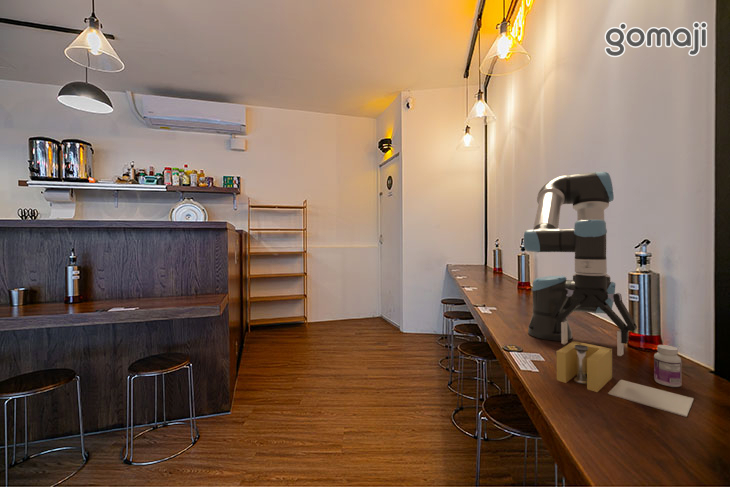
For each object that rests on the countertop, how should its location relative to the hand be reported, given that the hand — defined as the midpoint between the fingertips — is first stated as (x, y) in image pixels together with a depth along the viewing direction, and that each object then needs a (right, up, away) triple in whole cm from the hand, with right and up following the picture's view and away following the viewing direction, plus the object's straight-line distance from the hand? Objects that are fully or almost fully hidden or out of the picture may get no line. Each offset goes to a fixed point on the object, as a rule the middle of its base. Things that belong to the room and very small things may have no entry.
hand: (590, 348), depth 93 cm
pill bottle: (+16, -7, -7) cm, 19 cm away
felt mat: (+5, -7, -14) cm, 16 cm away
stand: (-6, -7, -5) cm, 10 cm away
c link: (-4, -7, -3) cm, 9 cm away
